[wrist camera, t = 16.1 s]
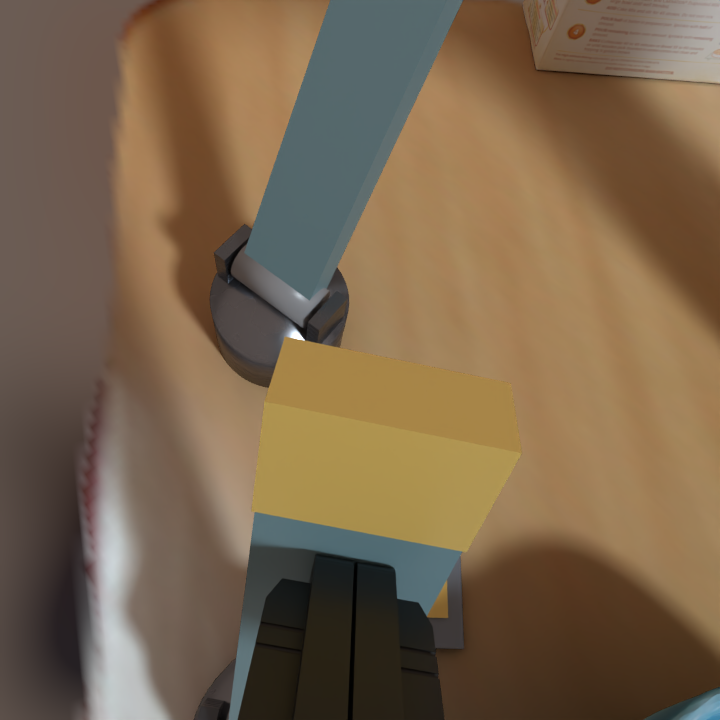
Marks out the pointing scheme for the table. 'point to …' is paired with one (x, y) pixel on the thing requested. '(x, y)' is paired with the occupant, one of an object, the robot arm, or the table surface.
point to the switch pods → (259, 367)
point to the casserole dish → (693, 708)
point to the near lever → (371, 473)
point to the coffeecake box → (627, 37)
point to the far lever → (338, 144)
